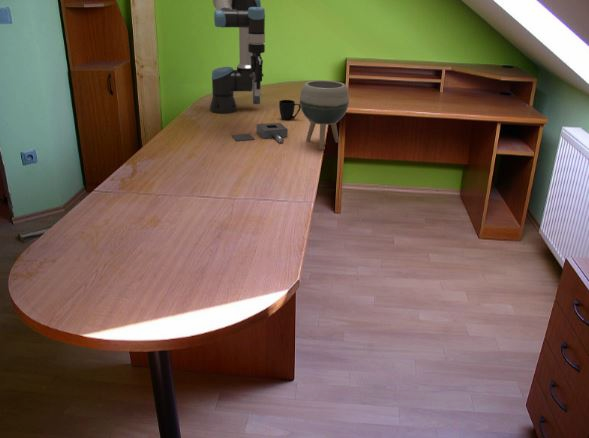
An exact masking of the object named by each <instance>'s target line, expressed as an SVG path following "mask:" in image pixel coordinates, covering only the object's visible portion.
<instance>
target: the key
mask: <svg viewBox="0 0 589 438" xmlns="http://www.w3.org/2000/svg"><path fill="white" fill-rule="evenodd" d="M249 76H250V77H253V91H252V104H253V105H261V96H255V82H254V81H255V72H253V74H250V75H249ZM263 77H264V73H262V78H263Z"/></svg>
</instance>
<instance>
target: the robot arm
mask: <svg viewBox="0 0 589 438" xmlns="http://www.w3.org/2000/svg"><path fill="white" fill-rule="evenodd" d="M261 3H262V2H261V0H212V5H213V7H214V9H216V10H214V12H213V17H214V18H213V21H214V26H215V27H216V28H222V29H223V28H238V41H239V42H238V43H239V44H238V48H239V53H238V54H239V63H238V65H237V66H236V69H234V68H233V67H232V66H222V67H218V68H214V69H213V70H212V72H211V83H212V84H211V85H212V97H211V100H210V104H209V111H210V112H212V113H215V114H217V113H218V114H230V113H235V112H237V111H238V106H237V103H236V99H235V97H234V96H235V95H234V92H249V93H250V92H253V77H250V76H249V75H250V74H253V72H255V81H254V82H255V96H260V97H261V95H262V94H261V93H262V92H261V91H262V90H261V87H262V86H261V85H262V84H261V83H262V82H263V77H262V74H263V63H264V59H262V55H261V54H264V53H265V50H266V47H265V45H266V44H265V42H266V32H265V26H266V25H265V23H266V12H265V8H264V7H261V5H262V4H261Z"/></svg>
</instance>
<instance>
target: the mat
mask: <svg viewBox="0 0 589 438" xmlns="http://www.w3.org/2000/svg"><path fill="white" fill-rule="evenodd" d="M231 137H232V138H233V139H234V141H235V142H244V141H245V142H246V141H247V142H248V141H254V140H256V139H255V138H254V137H253V135H252V134H250V133H239V134H238V133H237V134H231Z"/></svg>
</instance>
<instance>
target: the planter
mask: <svg viewBox="0 0 589 438" xmlns="http://www.w3.org/2000/svg"><path fill="white" fill-rule="evenodd" d="M299 104H300V106H301V108H300V110H301V112H302V114H303V116H305V118H306V119H307V120H308V121H309V127H308V132H307V135H306V139H305V140H306V142H310V141H311V138H312V135H313V133H314V130H315V126H316V125H319V145H318V147H319V150H321V151H322V150H324V149H325V140H326V139H325V137H326V127H327V125H330V126H331V127H330V128H331V131H332V135H333V138H334V139H333V140H334V143H340V138H339V134H338V127H337V123H338V122H339V121H341V120H342V118H344V116H345V114H346V113H347V110H348V108H349V105H350V94H349V89H348V87H347V86H346V84H345V83H343V82H340V81H335V80H323V79H322V80H320V79H319V80H310V81H306V82H305V83H304V84H303V86H302V88H301V90H300V94H299Z"/></svg>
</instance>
